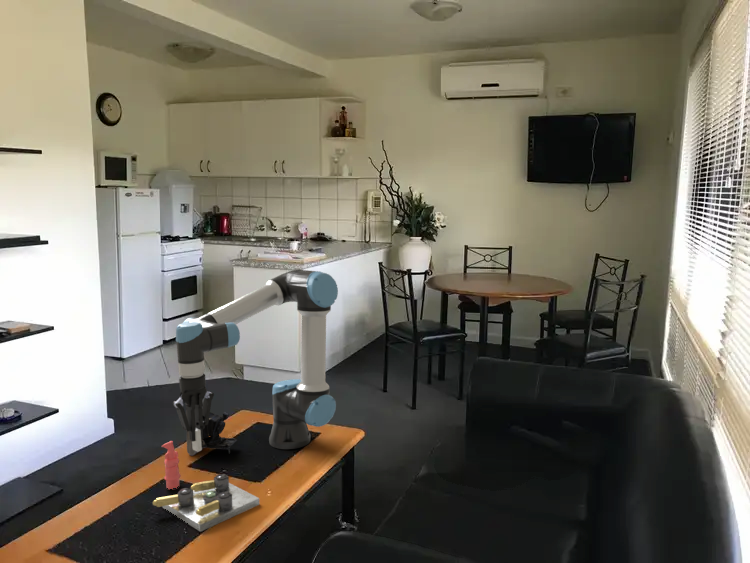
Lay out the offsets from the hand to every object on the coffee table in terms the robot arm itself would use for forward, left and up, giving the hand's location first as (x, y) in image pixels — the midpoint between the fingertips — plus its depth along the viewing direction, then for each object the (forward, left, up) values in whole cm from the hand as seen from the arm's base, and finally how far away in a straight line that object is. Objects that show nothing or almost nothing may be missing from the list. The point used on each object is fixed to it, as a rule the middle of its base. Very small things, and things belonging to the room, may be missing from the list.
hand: (197, 449), depth 188 cm
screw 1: (+11, +3, -12) cm, 17 cm away
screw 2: (-2, +3, -12) cm, 13 cm away
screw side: (+5, +16, -12) cm, 20 cm away
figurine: (+2, -12, -15) cm, 19 cm away
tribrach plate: (+1, +8, -15) cm, 17 cm away
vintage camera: (-22, -26, -15) cm, 37 cm away
